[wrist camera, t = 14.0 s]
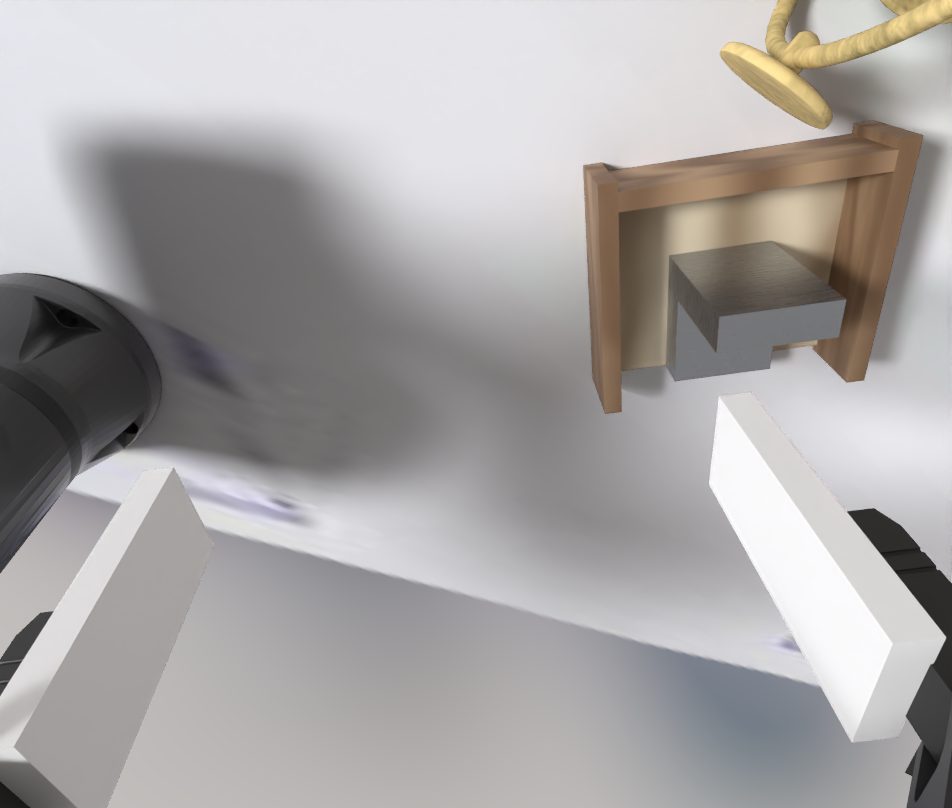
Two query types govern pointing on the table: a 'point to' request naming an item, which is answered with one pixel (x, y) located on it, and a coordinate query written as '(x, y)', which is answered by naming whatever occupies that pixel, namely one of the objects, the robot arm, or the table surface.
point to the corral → (745, 236)
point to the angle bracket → (742, 309)
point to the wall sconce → (821, 54)
